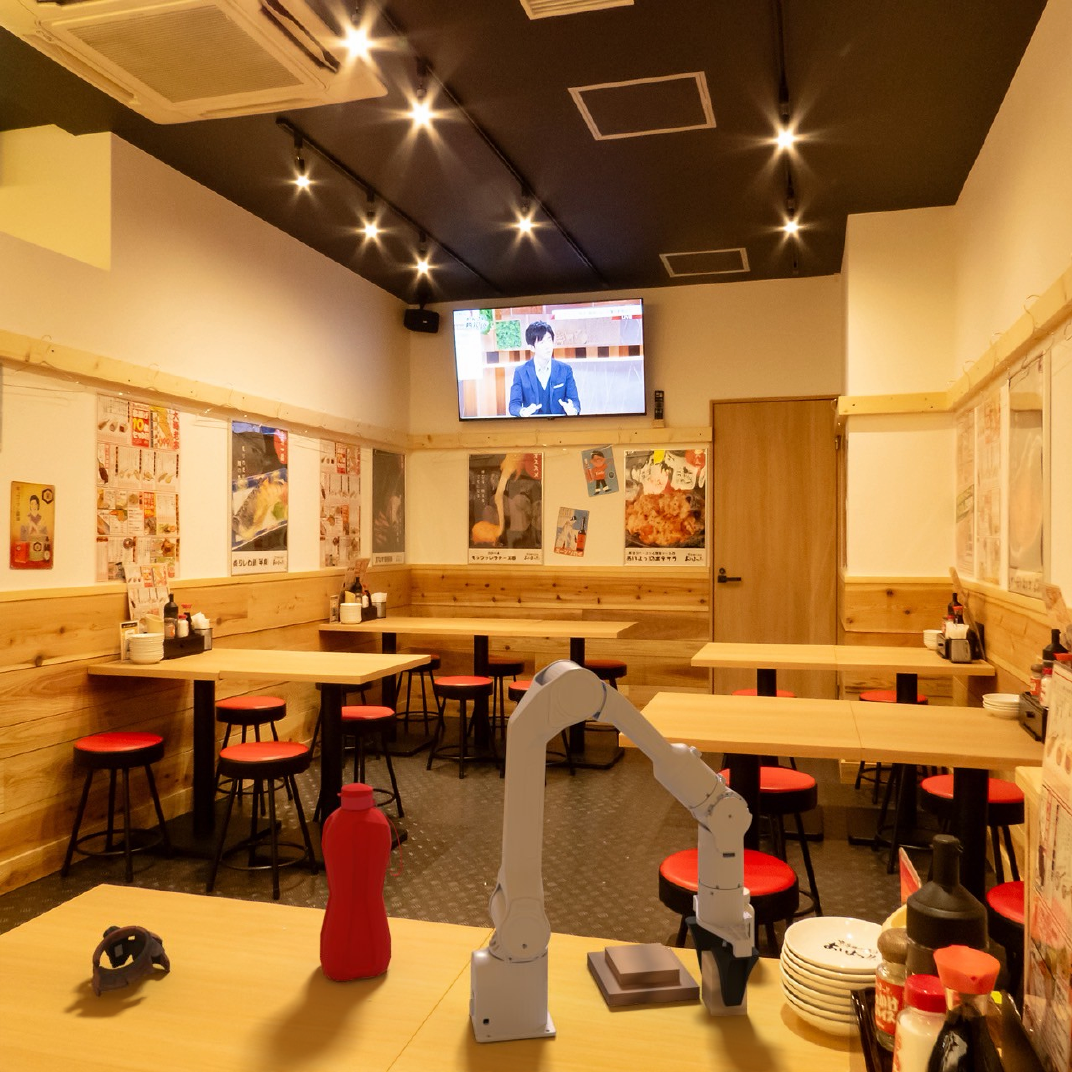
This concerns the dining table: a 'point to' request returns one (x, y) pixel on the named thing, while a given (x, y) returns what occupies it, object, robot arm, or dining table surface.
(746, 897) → the pill bottle
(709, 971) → the oak block
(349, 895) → the water bottle
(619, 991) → the walnut pedestal
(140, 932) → the dark brown ring housing
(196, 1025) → the dining table surface
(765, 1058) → the dining table surface
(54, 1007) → the dining table surface
